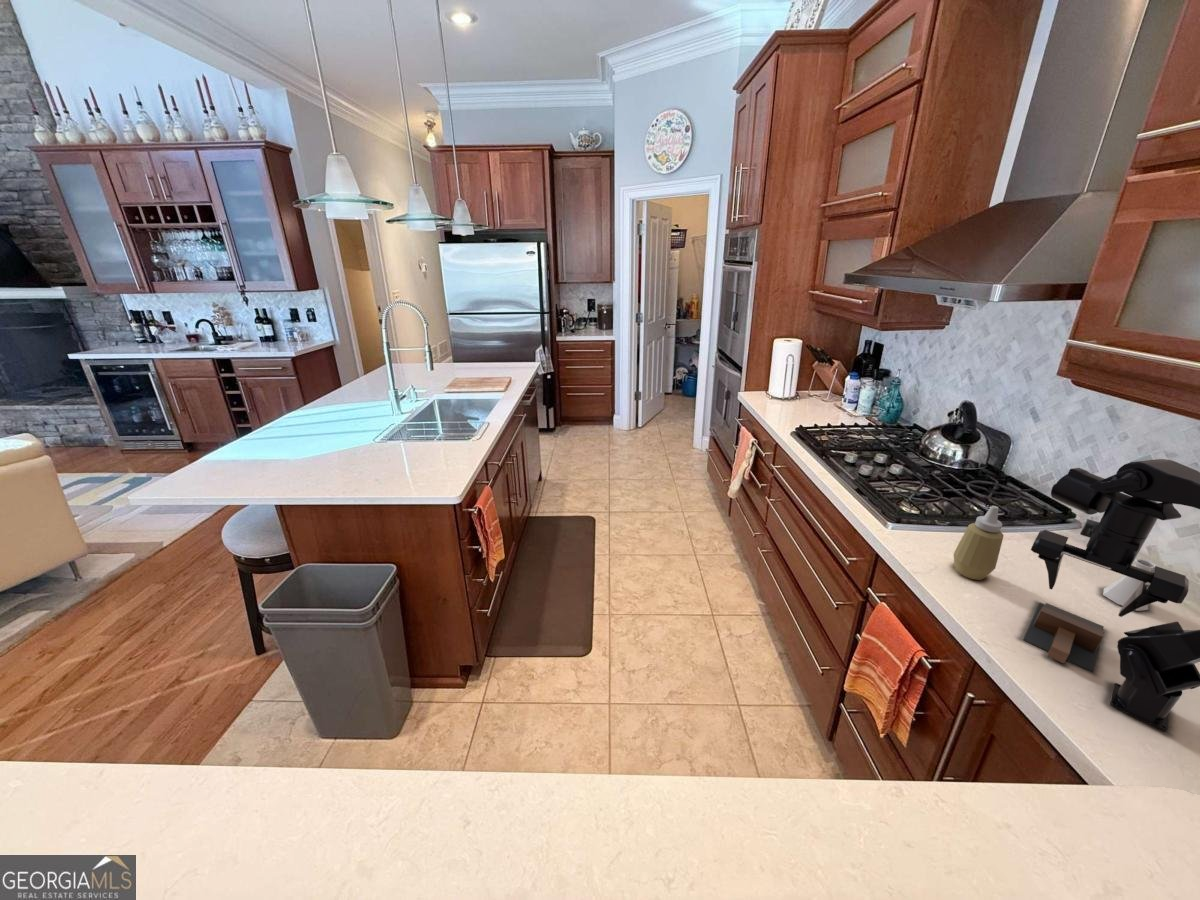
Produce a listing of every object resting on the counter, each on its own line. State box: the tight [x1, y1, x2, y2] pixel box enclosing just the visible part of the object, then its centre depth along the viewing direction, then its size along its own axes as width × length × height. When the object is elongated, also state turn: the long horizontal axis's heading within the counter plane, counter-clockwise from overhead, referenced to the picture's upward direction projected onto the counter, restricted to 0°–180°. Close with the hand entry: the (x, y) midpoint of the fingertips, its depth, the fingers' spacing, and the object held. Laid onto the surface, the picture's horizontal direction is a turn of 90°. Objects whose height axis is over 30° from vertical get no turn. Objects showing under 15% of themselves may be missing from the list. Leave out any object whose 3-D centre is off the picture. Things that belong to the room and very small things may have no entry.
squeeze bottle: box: [953, 505, 1004, 581], centre depth 108 cm, size 8×8×18 cm
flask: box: [1102, 558, 1158, 612], centre depth 101 cm, size 7×7×10 cm
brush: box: [1034, 602, 1105, 664], centre depth 91 cm, size 13×9×4 cm
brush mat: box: [1022, 602, 1104, 673], centre depth 94 cm, size 16×10×1 cm, turn 130°
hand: (1084, 601), depth 86 cm, fingers open, 9 cm apart
